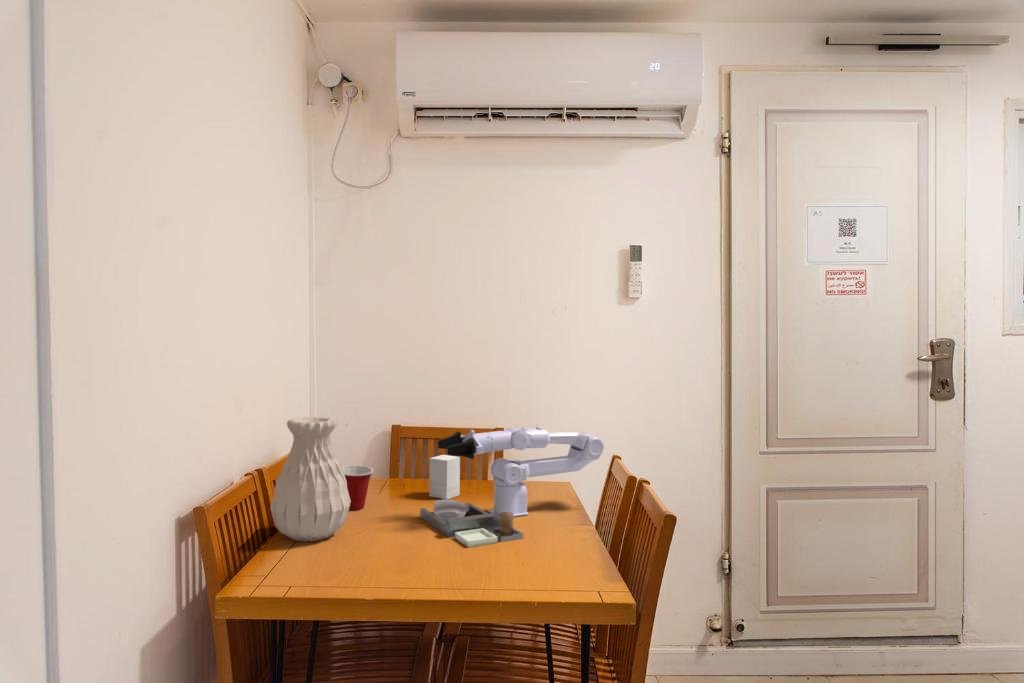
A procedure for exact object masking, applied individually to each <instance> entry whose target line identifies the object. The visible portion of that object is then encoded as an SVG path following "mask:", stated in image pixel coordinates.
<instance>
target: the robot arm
mask: <svg viewBox="0 0 1024 683" xmlns="http://www.w3.org/2000/svg"><path fill="white" fill-rule="evenodd" d="M549 444H552V445H553V444H554V445H568V446H569V449H568V453H567V455H562V456H561V455H560V456H552V457H543V458H536V459H527V460H517V459H515V460H514V459H509V460H508V459H506V458H502V457H499V458H497V459H495V460H494V461H493V462H492V464H491V466H490V473H491V475H492V477H494V482H493V509H488V512H487V513H496V512H497V513H499V514H500V513H501V512H511V513H513V518H514V517H520V516H526V515H529V512H528V490H527V486H526V484H525V483H524V481H527V479H528V478H534V477H542V476H550V475H557V474H566V473H573V472H579V471H581V470H582V469H583V468H585V467H586V466H587V465H589V464H590V463H591V462H593V461H597V460H599V459H600V457H601V456H602V453H603V451H604V449H605V443H604V440H603V439H602V438H601V437H598V436H594V435H592V434H591V435H590V434H587V433H585V432H577V431H562V432H558V431H556V432H548V431H547V429H545V428H543V427H542V426H536V427H535V428H527V427H523V426H522V428H521V429H518V428H515V427H508V428H507V429H505V430H496V431H487V432H478V433H476V432H475V430H474V429H470V430H469V433H468V434H466V435H465V434H463V435H462V432H461V431H459V430H458V431H456V432H454V433H453V434H452V435H450V436H448V437H444V438H441V439H440V440H438V442H437V446H438V449H441V450H442V449H443V450H447V452H446V453H447V454H446V455H448V456H456V457H463V458H464V457H465V458H467V459H471V460H474V459H475V455H482V454H484V453H492V452H499V451H500V452H501V451H504V450H505V451H506V450H512V449H514V450H518V451H524V450H525V449H544V448H546V447H547V446H548V445H549Z"/></svg>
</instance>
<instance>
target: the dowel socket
mask: <svg viewBox="0 0 1024 683" xmlns="http://www.w3.org/2000/svg"><path fill="white" fill-rule="evenodd" d="M489 532H490V533H492V534H494V535H495V536H497V537H498V541H499V542H501V543H502V542H503V543H504V542H509V541H514V540H522V539H524V533H523V532H521V531H519V530H518V529H516V528H514V527H513V534H511V535H505V536H502V535H500V534H499V529H493V530H489Z"/></svg>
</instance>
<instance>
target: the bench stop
mask: <svg viewBox="0 0 1024 683" xmlns="http://www.w3.org/2000/svg"><path fill="white" fill-rule="evenodd" d="M464 505H465V506H466V509H467V510H468V511H467V513H468V514H469V515H468V516H466V515H465V516H464V517H459V518H452V519H445V522H444V521H443V520H441V519H440V518H438V517H437V516H435V515H434V514H433V512H431V511H429V510H428V509H426V508H425V507H423V508H419V517H420V518H421V519H422V520H424V521H425V522H426V523H428V524H429V525H430V526H432V527H434V528H435V529H436V530H438V531H439V532H441V533H442V534H444V535H445V536H447V537H448V538H449V539H451V538H455V532H461V531H468V530H474V529H481V528H484V529H485V530H487V531H489V530H493V529H499V521H500V514H499V513H497V512H496V513H490V512H487V511H485V510H483V509H481V508H479V507H478V506H476V505H474V504H472V503H471V502H465V503H464Z"/></svg>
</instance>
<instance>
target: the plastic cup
mask: <svg viewBox="0 0 1024 683" xmlns="http://www.w3.org/2000/svg"><path fill="white" fill-rule="evenodd" d="M341 468H342V471H343V473H344V474H345V478H346V481H347V490H348V493H349V497H350V500H351V503H350V507H349V511H348V512H350V511H361V510H363V509H364V507H365V503H366V498H367V496H368V495H367V494H368V489H369V484H370V480H371V477H372V473H373V472H374V469H373V468H372V467H370V466H365V465H361V464H360V465H358V464H350V465H342V466H341Z"/></svg>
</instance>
